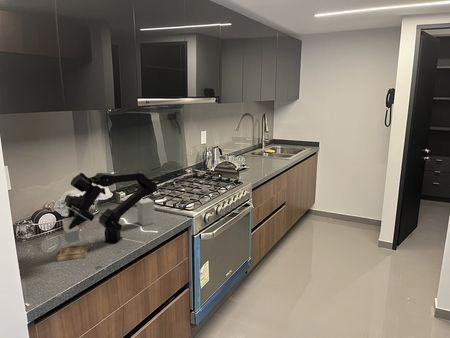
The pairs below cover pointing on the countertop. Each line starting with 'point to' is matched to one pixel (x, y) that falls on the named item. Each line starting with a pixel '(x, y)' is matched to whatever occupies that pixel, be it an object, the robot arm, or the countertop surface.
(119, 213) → the robot arm
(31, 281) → the countertop surface
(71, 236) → the plain gray box
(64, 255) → the wooden tray
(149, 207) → the supplement box
